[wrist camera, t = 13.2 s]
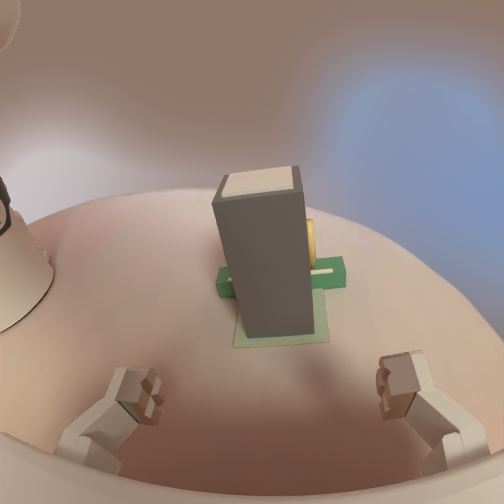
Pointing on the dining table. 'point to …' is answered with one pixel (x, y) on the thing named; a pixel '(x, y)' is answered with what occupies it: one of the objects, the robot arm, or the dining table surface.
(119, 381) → the robot arm
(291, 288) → the block
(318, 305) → the pad
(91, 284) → the dining table surface
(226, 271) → the header strip
